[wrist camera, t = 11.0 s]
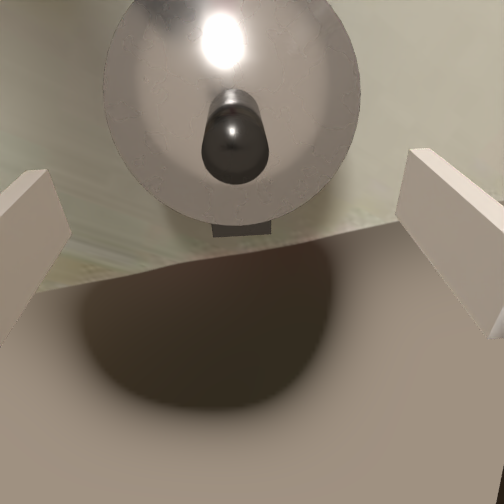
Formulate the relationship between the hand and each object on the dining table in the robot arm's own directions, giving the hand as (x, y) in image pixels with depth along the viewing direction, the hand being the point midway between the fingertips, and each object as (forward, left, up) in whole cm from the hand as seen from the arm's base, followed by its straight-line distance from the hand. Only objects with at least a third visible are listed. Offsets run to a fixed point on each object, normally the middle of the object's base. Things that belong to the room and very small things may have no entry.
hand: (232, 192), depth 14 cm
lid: (0, 0, -15) cm, 15 cm away
